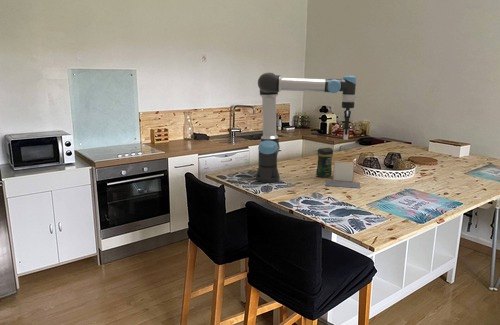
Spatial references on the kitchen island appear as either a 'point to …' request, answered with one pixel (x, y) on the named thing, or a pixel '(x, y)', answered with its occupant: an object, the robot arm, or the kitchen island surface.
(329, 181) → the mat
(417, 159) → the kitchen island surface
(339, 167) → the tile
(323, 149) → the coffee jar
